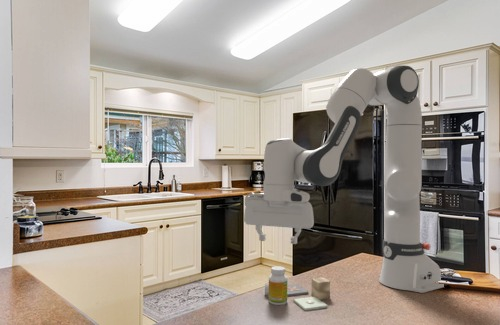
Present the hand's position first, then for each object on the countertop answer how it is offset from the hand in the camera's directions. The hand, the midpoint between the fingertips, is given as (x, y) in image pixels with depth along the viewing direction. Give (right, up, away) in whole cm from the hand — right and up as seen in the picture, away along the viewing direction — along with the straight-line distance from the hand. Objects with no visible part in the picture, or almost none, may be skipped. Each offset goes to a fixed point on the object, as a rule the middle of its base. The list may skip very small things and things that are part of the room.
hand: (277, 241), depth 103 cm
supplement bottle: (0, -17, 0) cm, 17 cm away
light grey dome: (-1, -17, +6) cm, 18 cm away
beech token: (+13, -17, +4) cm, 22 cm away
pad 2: (+9, -17, -2) cm, 20 cm away
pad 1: (+5, -17, +9) cm, 20 cm away
